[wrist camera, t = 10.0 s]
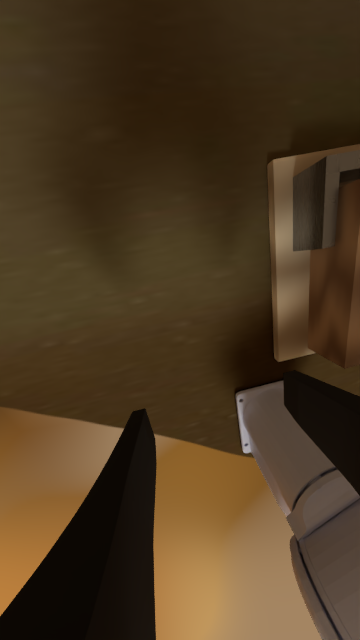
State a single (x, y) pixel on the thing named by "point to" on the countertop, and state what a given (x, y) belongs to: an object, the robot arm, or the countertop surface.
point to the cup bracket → (320, 199)
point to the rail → (338, 286)
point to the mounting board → (290, 256)
